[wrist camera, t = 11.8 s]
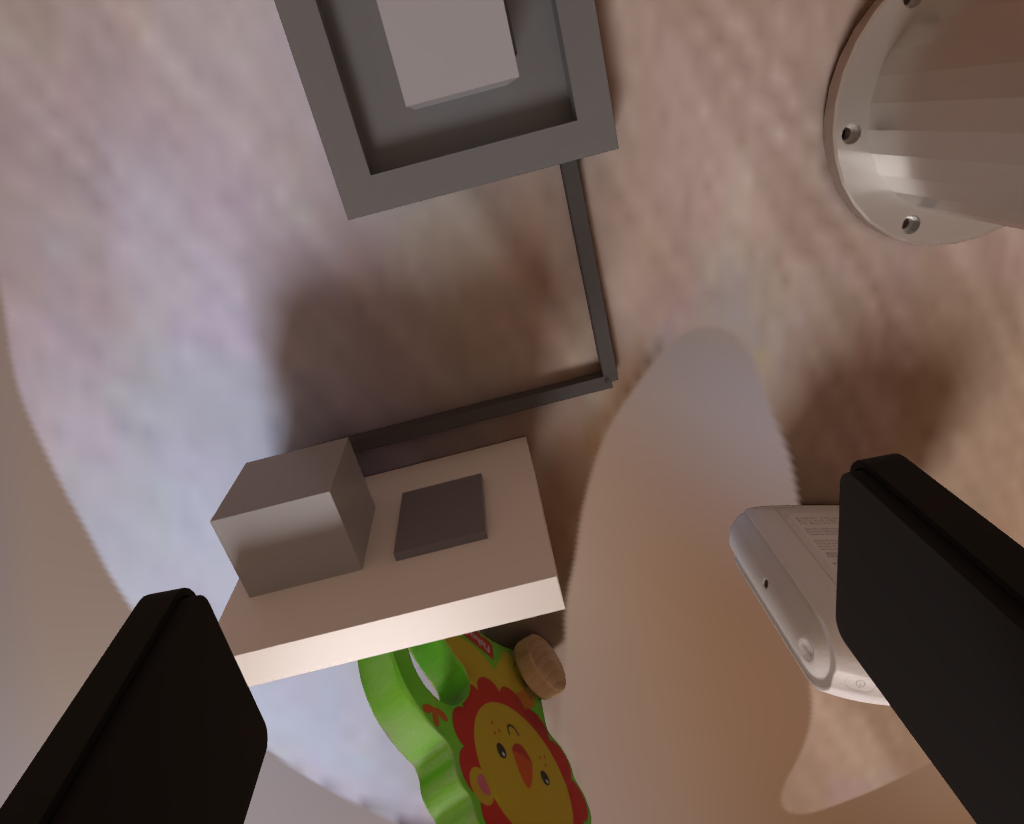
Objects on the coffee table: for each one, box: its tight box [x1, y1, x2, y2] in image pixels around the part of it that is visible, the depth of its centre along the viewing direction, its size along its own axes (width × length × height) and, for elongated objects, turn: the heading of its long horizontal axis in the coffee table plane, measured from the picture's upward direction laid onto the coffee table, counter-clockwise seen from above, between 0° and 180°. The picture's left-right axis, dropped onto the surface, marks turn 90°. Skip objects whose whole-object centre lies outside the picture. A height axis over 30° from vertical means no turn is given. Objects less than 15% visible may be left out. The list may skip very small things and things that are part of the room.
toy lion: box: [358, 631, 591, 824], centre depth 34 cm, size 16×5×15 cm, turn 40°
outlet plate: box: [210, 436, 565, 687], centre depth 30 cm, size 14×6×12 cm, turn 104°
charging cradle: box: [274, 0, 619, 220], centre depth 26 cm, size 12×14×2 cm
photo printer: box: [729, 505, 890, 706], centre depth 34 cm, size 10×4×12 cm, turn 88°
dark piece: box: [318, 160, 618, 453], centre depth 31 cm, size 16×11×4 cm
